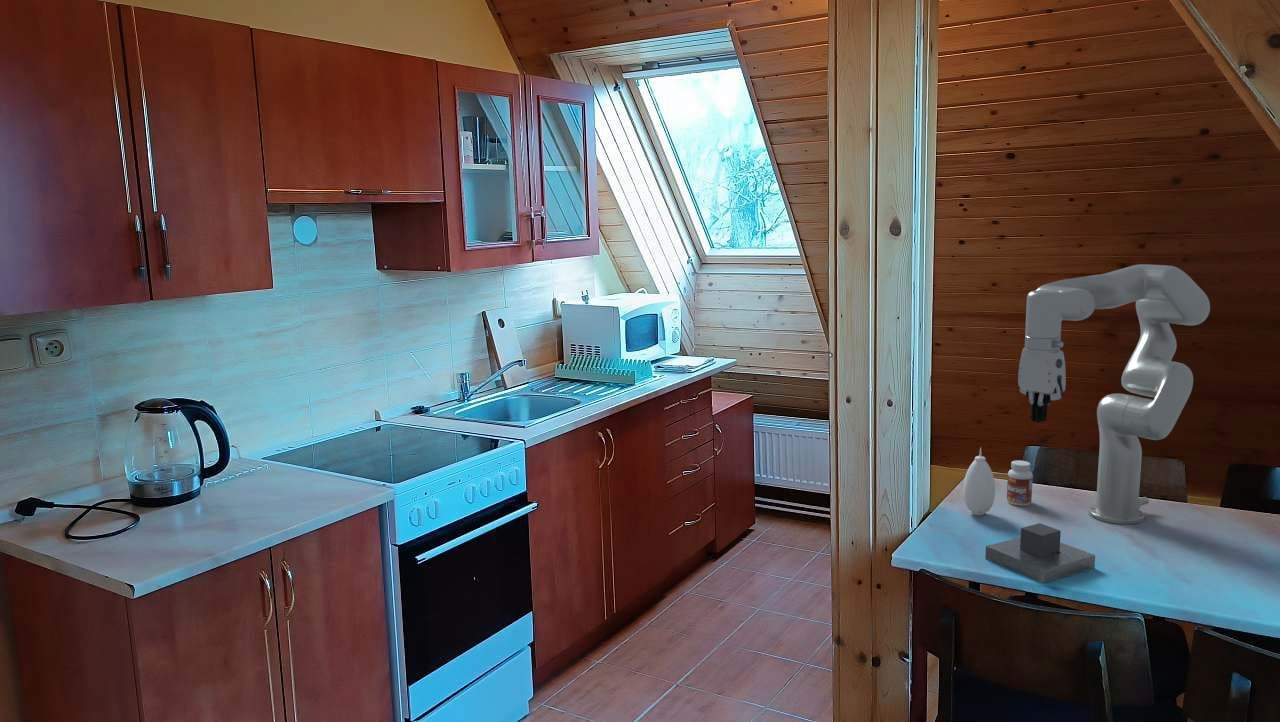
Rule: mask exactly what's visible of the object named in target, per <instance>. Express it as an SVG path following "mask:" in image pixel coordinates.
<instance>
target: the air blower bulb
mask: <svg viewBox="0 0 1280 722" xmlns="http://www.w3.org/2000/svg"><path fill="white" fill-rule="evenodd" d="M995 483H996V482H995V479H994V474H993V471H992V469H991V467H990V465H989V464H988V462H987V460H986V457H985V456H983V455H982V446H981V447H979V455H977V456H975V457H974V459H973V461H972V463H970V465H969V467H968V469H967V471H966V473H965V476H964V481H963V484H962V485H963V486H962V495H963V500H964V504H965V506H966V508H967V510H968V511H970V513H971V514H973V515H975V516H978V517H979V516H982V515H985V514H986V513H988V512H990V509H991V508H992V507H993V505H994V502H995V498H996V484H995Z"/></svg>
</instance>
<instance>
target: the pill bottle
mask: <svg viewBox="0 0 1280 722" xmlns="http://www.w3.org/2000/svg"><path fill="white" fill-rule="evenodd" d="M1010 468H1011V469H1009V471H1008V472H1007V484H1006V501H1007V503H1008V504H1011V505H1013V506H1020V507H1022V506H1023V507H1025V506H1026V507H1027V506H1029V505H1031V504H1032V498H1033V496H1032V495H1033V494H1032V493H1033V480H1034V475H1033V472H1032V471H1031V463H1030V462H1029V461H1027V460H1026V461H1025V460H1019V459H1018V460H1013V461H1011V465H1010Z"/></svg>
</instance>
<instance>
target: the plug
mask: <svg viewBox="0 0 1280 722" xmlns="http://www.w3.org/2000/svg"><path fill="white" fill-rule="evenodd" d="M1061 534H1062V533H1061V530H1059V529H1057V528H1054V527H1051V526H1049V525H1046V524H1044V523H1040V522H1039V523H1036V524H1035V523H1034V524H1031V525H1027V526H1024V527H1021V528H1020V537H1021V539H1020V549H1021V550H1023V551H1026V552H1029V553H1030V554H1033V555H1036V556H1039V557H1044V556H1047V555H1051V554H1052V555H1055V554H1057V553H1058V552H1060V542H1061Z"/></svg>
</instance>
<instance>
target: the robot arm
mask: <svg viewBox="0 0 1280 722" xmlns="http://www.w3.org/2000/svg"><path fill="white" fill-rule="evenodd" d="M1131 303H1135V309H1136V311H1135V312H1136V315H1137V318H1138V321H1139V322H1138V323H1139V327H1140V328H1139V329H1140V337H1139V339H1138V342H1137V344H1136V347H1135V349H1134V351H1133V352H1132V354H1131V356H1130V358H1129V360H1128V361H1127V364H1126V366H1125V368H1124V370H1123V372H1122V375H1121V380H1120V381H1121V383H1120V384H1121V386H1122V388H1123V389H1125V390H1126V391H1128V392H1129V393H1133V394H1136V395H1131V394H1126V393H1111V394H1107V395H1104V397H1103V398H1101V400H1099V403H1098V405H1097V407H1096V417H1097V419H1096V420H1097V424H1098V431H1099V432H1098V433H1099V450H1098V452H1099V453H1098V454H1099V455H1098V467H1097V468H1098V469H1097V480H1096V481H1097V485H1096V502H1095V504H1093V505H1092V506H1089V509H1088V513H1089V515H1090V516H1091V517H1093V518H1095V519H1096V520H1099V521H1102V522H1107V523H1109V524H1110V523H1113V524H1121V525H1134V524H1140V523H1142V522H1144V520H1145V518H1146V517H1145V516H1146V515H1145V513H1144V512H1143V511H1141V510H1140V508H1141V506H1144V505H1148V504H1149V501H1150V500H1149V498H1148V497H1146V496H1143V497H1140V487H1141V486H1140V484H1141V473H1142V472H1141V470H1142V459H1143V458H1142V456H1143V450H1142V445H1141V442H1140V440H1139V438H1143V439H1148V440H1153V441H1159V440H1163V439H1165V438H1166V437H1167V436H1169V434H1171V432H1172V430H1173V429H1174V427H1175V425H1176V424H1177V421H1178V419H1179V417H1180V415H1181V413H1182V411H1183V409H1184V407H1185V405H1186V403H1187V401H1188V400H1189V398H1190V395H1191V393H1192V390H1193V385H1194V375H1193V372H1192V370H1191V369H1190V367H1189V366H1187V365H1186V364H1185V363H1181V362H1177V361H1172V360H1173V357H1174V355H1175V354H1176V351H1177V346H1178V344H1177V339H1176V336H1175V333H1174V332H1173V330H1172V328H1171V326H1170V324H1173V325H1174V324H1175V325H1182V326H1183V325H1184V326H1197V325H1200V324H1202V323H1203V322H1204V321H1206V320H1207V318H1208V317H1209V314H1210V312H1211V304H1210V299H1209V297H1208V296H1207V294H1206V293H1205V291H1203V290H1202V288H1201V287H1200V286H1199V285H1198V284H1197V283H1196V282H1195V281H1194V280H1193V279H1192V278H1191V276H1190V275H1188V274H1187V273H1186V272H1185V271H1184V270H1182V269H1180V268H1179V267H1176V266H1174V265H1164V264H1163V265H1162V264H1147V263H1146V264H1145V263H1144V264H1141V263H1140V264H1135V265H1130V266H1128V267H1124V268H1120V269H1117V270H1112V271H1110V272H1106V273H1102V274H1093V275H1086V276H1080V277H1074V278H1065V279H1060V280H1057V281H1056V280H1055V281H1052V282H1049V283H1045V284H1043V285H1041V286H1039V287H1037V289H1036V290H1032V291H1030V292H1028V294H1027V296H1026V311H1025V335H1024V336H1025V337H1024V347H1023V348H1022V351H1021V355H1020V361H1019V365H1018V378H1017V382H1018V383H1017V384H1018V388H1019V392H1020V393H1021V394H1023V395H1024V396H1026V397H1027V399H1029V400H1028V401H1029V404H1030V405H1031V417H1030V419H1031V421H1032V422H1035V423H1042V422H1046V421H1047V416H1048V406H1049V405H1050V403H1051V402H1052V401H1060V400H1061V399H1062V395H1061V394H1062V393H1064V392H1065V391H1066V386H1067V385H1066V382H1067V380H1066V378H1067V377H1066V376H1067V375H1066V374H1067V373H1066V371H1067V370H1066V361H1065V360H1066V359H1065V355H1064V351H1062V350H1061V348H1063V347H1064V342H1063V341H1061V337H1062V336H1061V334H1062V321H1071V322H1073V321H1074V322H1075V321H1077V322H1078V321H1083V320H1085V319H1088V318H1089V317H1090V316H1091V315H1092V314H1093V313H1094V311H1095V310H1104V309H1105V310H1107V309H1109V310H1110V309H1115V308H1118V307H1121V306H1124V305H1127V304H1131ZM1137 395H1140V396H1137ZM1141 396H1145V397H1150V398H1145V397H1141ZM1151 398H1153V399H1151Z"/></svg>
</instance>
